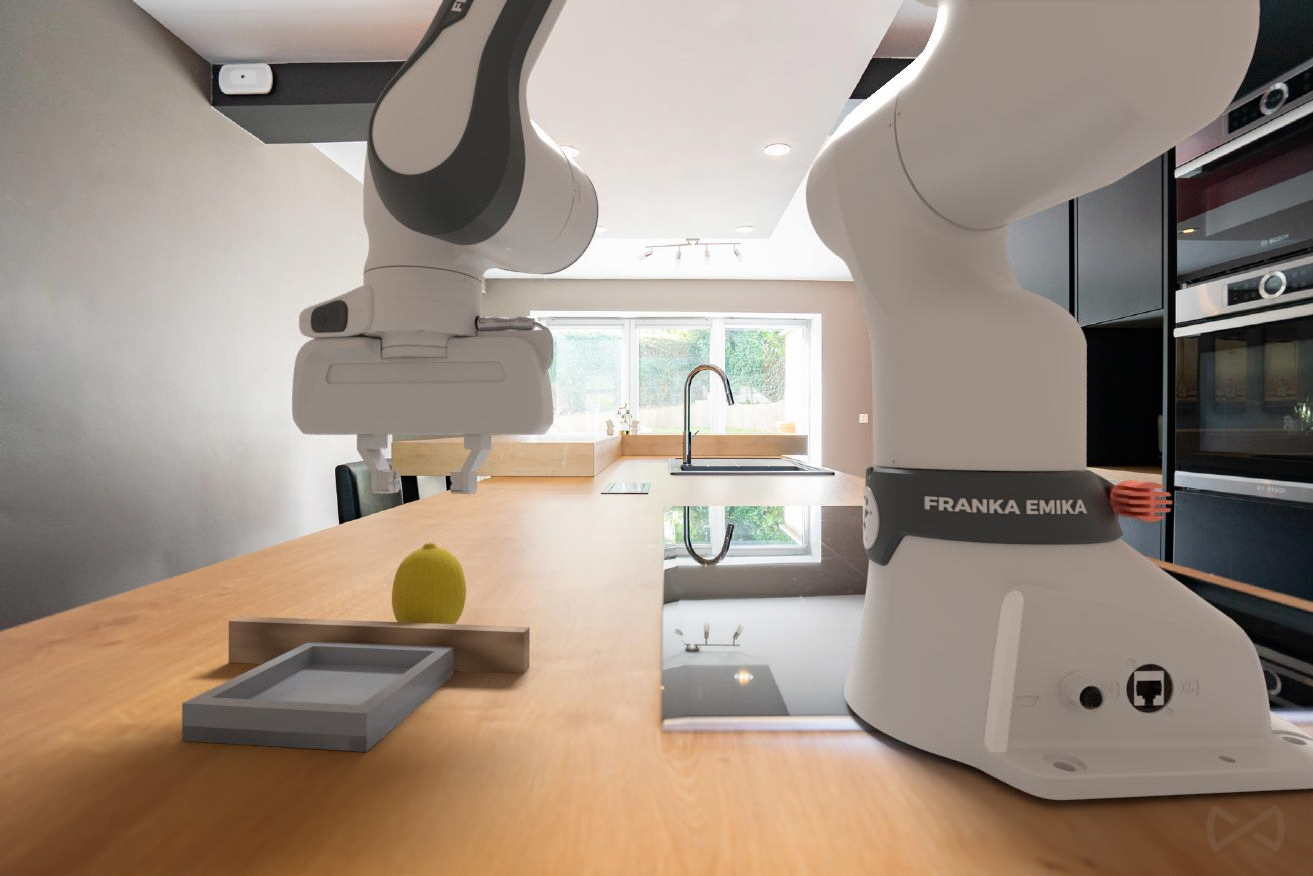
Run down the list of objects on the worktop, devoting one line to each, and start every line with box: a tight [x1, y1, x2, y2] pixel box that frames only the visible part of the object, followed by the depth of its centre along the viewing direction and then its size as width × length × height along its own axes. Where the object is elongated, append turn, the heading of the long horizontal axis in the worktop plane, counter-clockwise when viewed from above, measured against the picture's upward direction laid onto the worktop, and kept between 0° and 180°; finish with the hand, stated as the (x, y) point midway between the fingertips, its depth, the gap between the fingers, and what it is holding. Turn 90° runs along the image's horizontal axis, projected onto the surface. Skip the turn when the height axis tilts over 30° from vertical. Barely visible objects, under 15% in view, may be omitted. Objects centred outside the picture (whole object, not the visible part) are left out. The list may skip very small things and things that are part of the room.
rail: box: [228, 615, 531, 674], centre depth 45 cm, size 22×1×3 cm, turn 84°
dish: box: [181, 641, 454, 753], centre depth 39 cm, size 10×10×2 cm
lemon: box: [391, 542, 467, 624], centre depth 50 cm, size 6×6×8 cm
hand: (424, 493), depth 50 cm, fingers open, 5 cm apart
